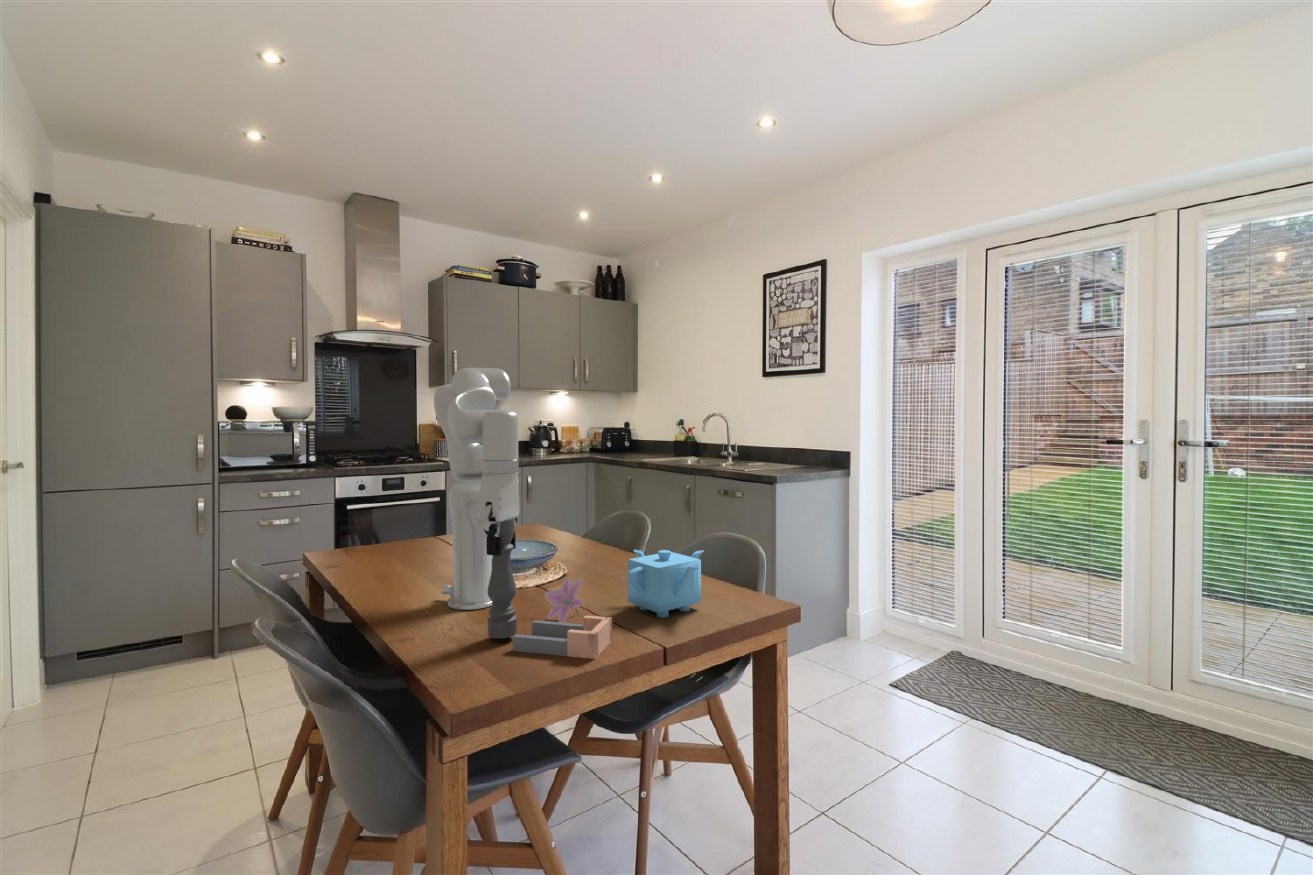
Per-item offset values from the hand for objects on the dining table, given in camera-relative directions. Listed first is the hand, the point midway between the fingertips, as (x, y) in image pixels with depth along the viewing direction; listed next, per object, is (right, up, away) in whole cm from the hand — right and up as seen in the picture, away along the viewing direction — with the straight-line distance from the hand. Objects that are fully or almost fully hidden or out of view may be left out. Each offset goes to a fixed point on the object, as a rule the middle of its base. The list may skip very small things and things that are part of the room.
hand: (501, 550), depth 132 cm
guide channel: (+14, -19, -3) cm, 24 cm away
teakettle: (+36, -19, +22) cm, 47 cm away
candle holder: (0, -18, +1) cm, 18 cm away
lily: (+12, -19, +14) cm, 27 cm away
